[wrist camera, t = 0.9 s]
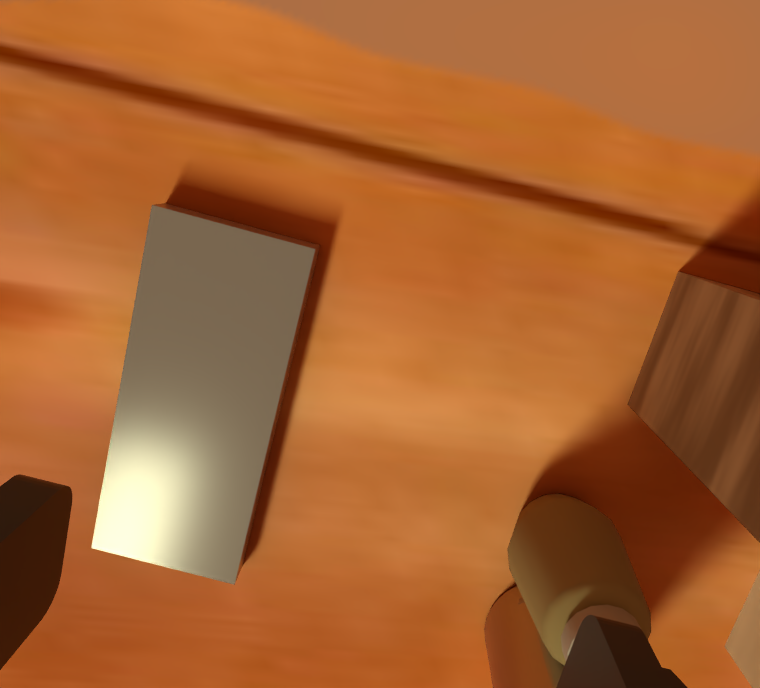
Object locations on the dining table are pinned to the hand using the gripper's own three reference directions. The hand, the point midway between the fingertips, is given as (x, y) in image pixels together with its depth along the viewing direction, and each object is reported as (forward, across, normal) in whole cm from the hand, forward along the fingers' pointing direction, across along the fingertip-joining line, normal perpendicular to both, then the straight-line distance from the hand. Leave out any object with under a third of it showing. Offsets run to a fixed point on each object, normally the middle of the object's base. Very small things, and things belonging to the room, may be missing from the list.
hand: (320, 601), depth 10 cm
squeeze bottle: (+38, +17, -16) cm, 45 cm away
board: (+38, -11, -13) cm, 41 cm away
